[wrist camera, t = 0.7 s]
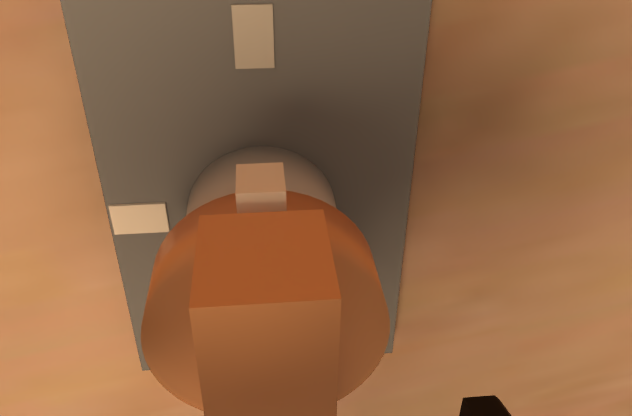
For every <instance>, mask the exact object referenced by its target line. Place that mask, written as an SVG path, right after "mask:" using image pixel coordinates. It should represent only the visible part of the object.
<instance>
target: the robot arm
mask: <svg viewBox="0 0 632 416" xmlns="http://www.w3.org/2000/svg"><path fill="white" fill-rule="evenodd" d="M459 416H511V414H510V413H509V412H508V410H507V409H506V408H505V406H504V405H503V404H502V402H501V401H500V400H499V399H498V398H497V397H496V396H495V395H493V396H480V397H467V398H463V401H462V405H461V410H460V414H459Z"/></svg>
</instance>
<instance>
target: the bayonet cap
mask: <svg viewBox="0 0 632 416" xmlns="http://www.w3.org/2000/svg"><path fill="white" fill-rule="evenodd" d="M389 334H390V318H389V312H388V307H387V304H386V300H385V297H384V294H383V290H382V287H381V283H380V280H379V277H378V273H377V270H376V266H375V263H374V260H373V256H372V253H371V250H370V247H369V245H368V243H367V241H366V239H365V237H364V235H363V234H362V232H361V231H360V230H359V228H358V227H357V226H356V225H355V223H353V222H352V221H351V220H350V219H349V218H348V217H347V216H346V215H345V214H343V213H342V212H341V211H339V210H338V209H336V208H335V207H333V206H331V205H329V204H328V203H326V202H324V201H322V200H319V199H317V198H314V197H311V196H309V195H305V194H301V193H297V192H293V191H286V186H285V177H284V168H283V162H279V163H255V164H236V191H235V193H233V194H229V195H226V196H223V197H220V198H217V199H214V200H212V201H210V202H208V203H206V204H204V205H202V206H200V207H198V208H197V209H195V210H194V211H192V212H190V213H189V214H188V215H186V216H185V217H184V218H183V219H182V220H180V221H179V222H178V223H177V224H176V225H175V226H174V227H173V229H172V230H171V231H170V232H169V233H168V234H167V236H166V237H165V239H164V241H163V242H162V244H161V246H160V248H159V250H158V252H157V255H156V258H155V262H154V266H153V270H152V275H151V280H150V285H149V290H148V295H147V300H146V305H145V310H144V315H143V320H142V325H141V346H142V351H143V354H144V358H145V361H146V363H147V365H148V367H149V368H150V370H151V372H152V373H153V375H154V376H155V377H156V379H157V380H158V381H159V382H160V383H161V384H162V385H163V386H164V387H165V388H166V389H167V390H168V391H169V392H170V393H172V394H173V395H174V396H176V397H177V398H178V399H180V400H182V401H183V402H185V403H187V404H189V405H191V406H193V407H195V408H197V409H200V410H202V411H204V416H336V414H337V401H338V400H340V399H342V398H343V397H345V396H346V395H348V394H349V393H351V392H352V391H353V390H355V389H356V388H357V387H358V386H360V385H361V384H362V383H363V382H364V381H365V380H366V379H367V378H368V377H369V376H370V375H371V373H372V372H373V371H374V369H375V368H376V367H377V366H378V364H379V362H380V360H381V358H382V357H383V355H384V352H385V350H386V347H387V344H388V340H389Z"/></svg>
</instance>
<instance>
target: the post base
mask: <svg viewBox="0 0 632 416" xmlns="http://www.w3.org/2000/svg"><path fill="white" fill-rule="evenodd" d="M60 2H61V7H62V11H63V16H64V20H65V25H66V29H67V34H68V38H69V43H70V47H71V52H72V56H73V61H74V65H75V70H76V74H77V79H78V83H79V88H80V92H81V97H82V101H83V106H84V110H85V115H86V119H87V124H88V128H89V133H90V137H91V142H92V146H93V151H94V155H95V160H96V164H97V169H98V173H99V178H100V182H101V187H102V191H103V196H104V200H105V205H106V209H107V214H108V218H109V223H110V227H111V232H112V236H113V241H114V245H115V250H116V254H117V259H118V263H119V268H120V272H121V277H122V281H123V286H124V290H125V295H126V299H127V304H128V308H129V313H130V317H131V322H132V326H133V331H134V335H135V340H136V344H137V349H138V353H139V358H140V362H141V367H142V371H144V370H150V368H149V367H148V365H147V363H146V361H145V358H144V354H143V351H142V346H141V325H142V320H143V315H144V310H145V305H146V300H147V295H148V290H149V285H150V280H151V275H152V270H153V266H154V262H155V258H156V255H157V252H158V250H159V248H160V246H161V244H162V242H163V241H164V239H165V237H166V236H167V234H168V233H169V232H170V231H171V230H172V229H173V227H174V226H175V225H176V224H177V223H178V222H179V221H180V220H182V219H183V218H184V217H185V216H186V215H188V214H189V213H190V212H192V211H194V210H195V209H197V208H198V207H200V206H202V205H204V204H206V203H208V202H210V201H212V200H214V199H217V198H220V197H223V196H226V195H229V194H233V193H235V191H236V164H255V163H279V162H283V168H284V177H285V186H286V191H293V192H297V193H301V194H305V195H309V196H311V197H314V198H317V199H319V200H322V201H324V202H326V203H328V204H329V205H331V206H333V207H335V208H336V209H338V210H339V211H341V212H342V213H343V214H345V215H346V216H347V217H348V218H349V219H350V220H351V221H352V222H353V223H355V225H356V226H357V227H358V228H359V230H360V231H361V232H362V234H363V235H364V237H365V239H366V241H367V243H368V245H369V247H370V250H371V253H372V256H373V260H374V263H375V266H376V270H377V273H378V277H379V280H380V283H381V287H382V290H383V294H384V297H385V300H386V304H387V307H388V312H389V318H390V334H389V340H388V344H387V347H386V350H385V352H384V353H392V350H393V341H394V332H395V323H396V315H397V306H398V297H399V288H400V279H401V270H402V262H403V253H404V244H405V235H406V226H407V217H408V208H409V200H410V191H411V182H412V173H413V164H414V155H415V147H416V138H417V129H418V120H419V111H420V102H421V94H422V85H423V76H424V67H425V58H426V49H427V41H428V32H429V23H430V14H431V5H432V0H60Z"/></svg>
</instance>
